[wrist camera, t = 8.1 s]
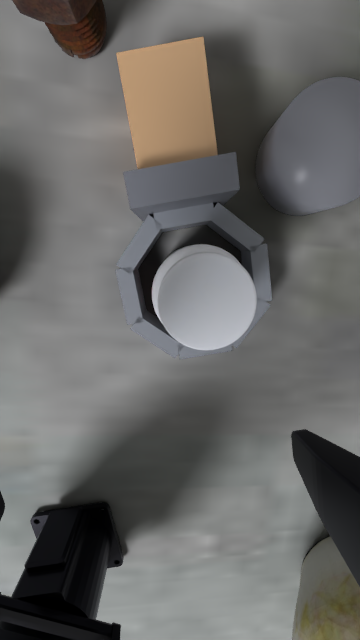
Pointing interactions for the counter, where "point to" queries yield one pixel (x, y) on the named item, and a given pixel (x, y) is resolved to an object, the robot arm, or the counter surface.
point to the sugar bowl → (327, 597)
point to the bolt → (70, 23)
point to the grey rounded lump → (313, 150)
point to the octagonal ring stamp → (178, 177)
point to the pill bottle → (204, 297)
